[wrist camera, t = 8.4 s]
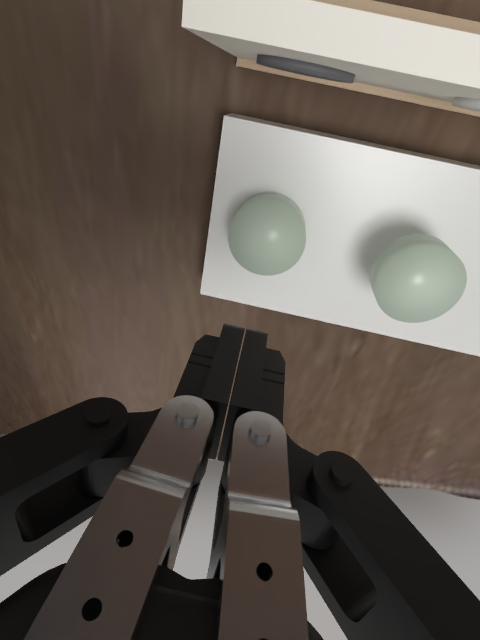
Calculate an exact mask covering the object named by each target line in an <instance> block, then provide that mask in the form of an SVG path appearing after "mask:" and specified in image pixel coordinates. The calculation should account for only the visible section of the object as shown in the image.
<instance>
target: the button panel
mask: <svg viewBox="0 0 480 640" xmlns="http://www.w3.org/2000/svg"><path fill="white" fill-rule="evenodd" d="M261 193H278V194H281V195H284V196H286V197H288V198H289V199H291V200H292V201H293V202H295V204H296V205H297V206H298V207H299V209H300V210H301V212H302V214H303V216H304V220H305V227H306V245H305V249H304V252H303V254H302V256H301V258H300V259H299V261H298V262H297V263H296V264H295V265H294V266H293V267H292V268H290V269H289V270H287V271H285V272H283V273H281V274H277V275H271V276H263V275H258V274H254V273H252V272H249V271H248V270H246V269H245V268H243V267H242V266H241V265H240V264H239V263H238V262H237V261H236V260H235V258H234V257H233V255H232V253H231V251H230V247H229V242H228V233H229V228H230V225H231V222H232V221H233V219H234V217H235V215H236V213H237V211H238V209H239V208H240V207H241V205H242V204H243V203H244V202H245V201H246V200H248V199H249V198H251V197H253V196H255V195H257V194H261ZM411 234H426V235H431V236H434V237H436V238H438V239H440V240H441V241H443V242H444V243H445V244H446V245H447V246H448V247H449V248H450V249H451V250H452V251H453V252H454V253H455V254H456V255H457V256H458V257H459V258H460V260H461V261H462V262H463V264H464V266H465V269H466V273H467V283H466V287H465V290H464V292H463V294H462V296H461V298H460V299H459V301H458V302H457V303H456V304H455V305H454V306H453V307H452V308H451V309H450V310H449V311H447V312H446V313H444V314H443V315H441V316H439V317H437V318H435V319H432V320H429V321H425V322H419V323H407V322H401V321H398V320H395V319H393V318H391V317H389V316H388V315H386V314H385V313H384V312H383V311H382V310H381V308H380V307H379V305H378V303H377V301H376V298H375V295H374V293H373V290H372V287H371V284H370V279H369V274H370V268H371V265H372V262H373V260H374V259H375V257H376V255H377V254H378V253H379V252H380V250H382V249H383V248H384V247H385V246H386V245H387V244H389V243H390V242H392V241H394V240H396V239H398V238H400V237H403V236H406V235H411ZM200 294H203V295H208V296H212V297H217V298H221V299H226V300H230V301H235V302H239V303H244V304H248V305H253V306H257V307H262V308H266V309H270V310H275V311H279V312H284V313H288V314H293V315H297V316H302V317H306V318H311V319H315V320H320V321H324V322H329V323H333V324H337V325H342V326H346V327H351V328H355V329H360V330H364V331H369V332H373V333H378V334H382V335H387V336H391V337H395V338H400V339H404V340H409V341H413V342H418V343H422V344H427V345H431V346H436V347H440V348H445V349H449V350H454V351H458V352H462V353H467V354H471V355H476V356H480V166H479V165H475V164H470V163H465V162H461V161H456V160H451V159H447V158H442V157H437V156H432V155H428V154H423V153H418V152H414V151H409V150H404V149H399V148H395V147H390V146H385V145H381V144H376V143H371V142H367V141H362V140H357V139H352V138H348V137H343V136H338V135H334V134H329V133H324V132H319V131H315V130H310V129H305V128H301V127H296V126H291V125H286V124H282V123H277V122H272V121H268V120H263V119H258V118H254V117H249V116H244V115H239V114H235V113H230V114H227V115H224V119H223V126H222V134H221V141H220V149H219V156H218V164H217V171H216V179H215V186H214V194H213V201H212V209H211V217H210V224H209V232H208V239H207V247H206V254H205V262H204V269H203V277H202V284H201V292H200Z"/></svg>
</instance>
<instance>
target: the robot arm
mask: <svg viewBox="0 0 480 640" xmlns="http://www.w3.org/2000/svg"><path fill="white" fill-rule="evenodd" d="M244 330H245V328H242V327H237V326H233V325H229V324H224V325H223V329H222V332H221V335H220V338H219V337H215V336H210V335H204V336H203V337H202V338H200V339H199V340H198V341H197V342H196V343H195V345H194V348H193V350H192V353H191V355H190V358H189V360H188V363H187V365H186V368H185V370H184V373H183V375H182V378H181V380H180V383H179V385H178V387H177V390H176V392H175V395H174V397H173V398H172V399H170V400H169V401H167V402H166V403H165V404H164V405H163V407H162V408H160V409H157V410H154V411H150V412H134V413H128V412H127V410H126V408H125V406H124V405H123V404H122V403H120V402H119V401H117V400H115V399H112V398H106V397H98V398H92V399H89V400H86V401H83V402H81V403H79V404H77V405H74V406H72V407H70V408H67V409H65V410H63V411H60V412H58V413H56V414H53V415H51V416H49V417H46V418H44V419H42V420H40V421H37V422H35V423H33V424H30V425H28V426H26V427H23V428H21V429H19V430H16V431H14V432H12V433H10V434H7V435H5V436H3V437H0V576H1V575H3V574H4V573H6V572H7V571H9V570H10V569H12V568H13V567H15V566H16V565H18V564H19V563H21V562H23V561H24V560H26V559H27V558H29V557H30V556H32V555H33V554H35V553H36V552H38V551H39V550H41V549H43V548H44V547H46V546H47V545H49V544H50V543H52V542H53V541H55V540H56V539H58V538H59V537H61V536H62V535H64V534H66V533H67V532H69V531H70V530H72V529H73V528H75V527H76V526H78V525H79V524H81V523H82V522H84V521H86V520H87V519H89V518H90V517H92V516H93V515H94V516H93V517H92V519H91V521H90V523H89V525H88V526H87V528H86V530H85V532H84V533H83V535H82V537H81V539H80V541H79V542H78V544H77V546H76V548H75V549H74V551H73V553H72V555H71V556H70V558H69V560H68V562H67V563H65V564H62V565H59V566H57V567H55V568H53V569H50V570H48V571H46V572H45V573H43V574H41V575H39V576H38V577H36V578H34V579H33V580H31V581H30V582H28V583H27V584H26V585H24V586H23V587H22V588H20V589H19V590H17V591H16V592H15V593H13V594H12V595H11V596H9V597H8V598H7V599H5V600H4V601H2V602H1V603H0V640H323V639H322V637H321V635H320V634H319V633H318V632H317V631H316V630H315V628H314V627H313V626H312V625H311V624H310V623H309V622H308V621H307V612H306V599H305V585H304V571H303V567H304V568H305V570H306V572H307V573H308V575H309V577H310V578H311V580H312V581H313V583H314V585H315V586H316V588H317V590H318V591H319V593H320V595H321V596H322V598H323V599H324V601H325V603H326V604H327V606H328V608H329V609H330V611H331V612H332V614H333V616H334V618H335V619H336V621H337V622H338V624H339V626H340V627H341V629H342V631H343V632H344V634H345V635H346V637H347V639H348V640H480V601H479V600H478V598H477V597H476V596H475V595H474V594H473V593H472V591H470V589H469V588H468V587H467V586H466V585H465V584H464V582H463V581H462V580H461V579H460V578H459V577H458V576H457V574H456V573H455V572H454V571H453V570H452V569H451V568H450V566H449V565H448V564H447V563H446V562H445V561H444V560H443V558H442V557H441V556H440V555H439V554H438V553H437V552H436V550H435V549H434V548H433V547H432V546H431V545H430V544H429V542H428V541H427V540H426V539H425V538H424V537H423V536H422V534H421V533H420V532H419V531H418V530H417V529H416V528H415V526H414V525H413V524H412V523H411V522H410V521H409V520H408V518H407V517H406V516H405V515H404V514H403V513H402V512H401V510H400V509H399V508H398V507H397V506H396V505H395V504H394V502H393V501H392V500H391V499H390V498H389V497H388V496H387V494H386V493H385V492H384V491H383V490H382V489H381V488H380V487H379V485H378V484H377V483H376V482H375V481H374V480H373V479H372V477H371V476H370V475H369V474H368V473H367V472H366V471H365V469H364V468H363V467H362V466H361V465H360V464H359V463H358V462H357V461H356V460H355V459H353V458H352V457H350V456H349V455H346V454H344V453H341V452H337V451H327V452H324V453H322V454H320V455H319V456H316V455H314V454H312V453H310V452H308V451H307V450H305V449H303V448H301V447H300V446H298V445H297V444H296V443H294V442H293V441H292V440H291V439H290V437H289V436H288V435H287V433H286V431H285V429H284V426H283V402H284V381H285V376H284V375H285V361H284V359H283V357H282V355H281V353H280V351H277V350H272V349H268V348H266V343H267V333H264V332H260V331H255V330H251V329H247V330H246V334H245V338H244V343H243V347H242V351H241V356H240V360H239V364H238V369H237V373H236V378H235V382H234V387H233V391H232V396H231V401H230V405H229V410H228V414H227V419H226V424H225V428H224V433H223V437H222V442H221V447H220V451H219V456H218V460H220V461H224V466H223V471H222V476H221V480H220V485H219V489H218V498H217V506H216V514H215V523H214V531H213V540H212V549H211V556H210V563H209V568H208V574H207V579H196V580H190V579H187V578H185V577H183V576H181V575H179V574H178V573H176V572H174V571H173V567H174V564H175V560H176V556H177V553H178V549H179V546H180V543H181V540H182V537H183V534H184V531H185V528H186V525H187V522H188V519H189V516H190V513H191V510H192V507H193V504H194V501H195V498H196V495H197V492H198V489H199V486H200V483H201V480H202V478H203V476H204V474H205V471H206V467H207V463H208V459H209V458H210V459H216V454H217V450H218V446H219V441H220V437H221V432H222V428H223V424H224V419H225V415H226V410H227V406H228V402H229V397H230V393H231V388H232V384H233V379H234V375H235V370H236V366H237V361H238V357H239V352H240V348H241V343H242V339H243V334H244Z"/></svg>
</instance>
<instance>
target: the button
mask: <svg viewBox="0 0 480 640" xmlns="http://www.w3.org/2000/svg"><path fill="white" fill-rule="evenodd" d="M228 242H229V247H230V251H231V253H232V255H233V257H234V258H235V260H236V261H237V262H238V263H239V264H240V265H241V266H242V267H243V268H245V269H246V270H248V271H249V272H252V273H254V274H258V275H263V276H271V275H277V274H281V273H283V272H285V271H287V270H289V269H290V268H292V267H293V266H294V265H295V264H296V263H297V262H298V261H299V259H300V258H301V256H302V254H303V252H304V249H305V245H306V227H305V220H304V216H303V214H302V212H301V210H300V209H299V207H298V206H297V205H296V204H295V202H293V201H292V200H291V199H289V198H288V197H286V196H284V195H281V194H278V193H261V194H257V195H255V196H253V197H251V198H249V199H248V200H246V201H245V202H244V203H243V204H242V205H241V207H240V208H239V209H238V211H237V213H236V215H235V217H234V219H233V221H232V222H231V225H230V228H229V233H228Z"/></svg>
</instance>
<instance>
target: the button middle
mask: <svg viewBox="0 0 480 640" xmlns="http://www.w3.org/2000/svg"><path fill="white" fill-rule="evenodd" d="M369 279H370V284H371V287H372V290H373V293H374V295H375V298H376V301H377V303H378V305H379V307H380V308H381V310H382V311H383V312H384V313H385V314H386V315H388V316H389V317H391V318H393V319H395V320H398V321H401V322H407V323H419V322H425V321H429V320H432V319H435V318H437V317H439V316H441V315H443V314H444V313H446V312H447V311H449V310H450V309H451V308H452V307H453V306H454V305H455V304H456V303H457V302H458V301H459V299H460V298H461V296H462V294H463V292H464V290H465V287H466V283H467V273H466V269H465V266H464V264H463V262H462V261H461V260H460V258H459V257H458V256H457V255H456V254H455V253H454V252H453V251H452V250H451V249H450V248H449V247H448V246H447V245H446V244H445V243H444V242H443V241H441V240H440V239H438V238H436V237H434V236H431V235H426V234H411V235H406V236H403V237H400V238H398V239H396V240H394V241H392V242H390V243H389V244H387V245H386V246H385V247H384V248H383V249H382V250H380V252H379V253H378V254H377V255H376V257H375V259H374V260H373V262H372V265H371V268H370V274H369Z"/></svg>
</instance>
